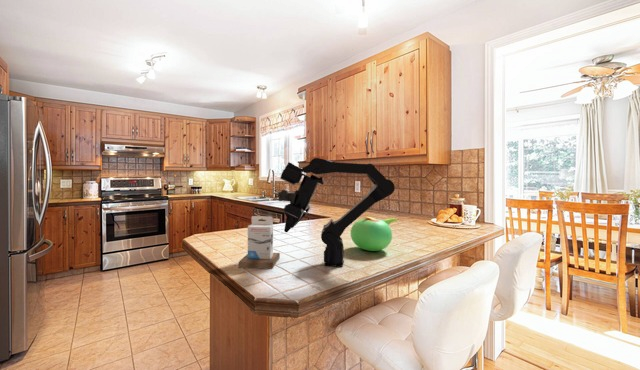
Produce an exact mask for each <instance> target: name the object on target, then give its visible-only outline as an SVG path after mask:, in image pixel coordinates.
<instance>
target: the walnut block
mask: <svg viewBox="0 0 640 370" xmlns="http://www.w3.org/2000/svg"><path fill="white" fill-rule="evenodd" d="M280 255H281V254H280V252H273V256H272V257H271V259H250V258H248V253H247V254H246V255H244V256H243V257H242V258H241V259H240V260H239V261H238V268H240V269H241V268H242V269H274V267H275V265H276V264H277V263H278V262H279V259H280V258H281V257H280Z"/></svg>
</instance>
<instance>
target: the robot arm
mask: <svg viewBox="0 0 640 370" xmlns="http://www.w3.org/2000/svg"><path fill="white" fill-rule="evenodd" d="M308 173H309V174H311V173H312V174H311V175H310V176H309V175H308ZM331 173H332V174H333V173H343V174H356V175H357V174H359V175H366V176H367V178H369V180H370V181H371V182H372V184H373V186H372V187H371V188H370V190H369V192H368V193H367V194H366V195H365V196H364V197H363V198H362V199H360V200H359V201H358V202H357V203H356V204H355V205H354V206H352V208H350V209H349V210H348V211H347V212H346V213H344V214H343V215H342V216H341V217H339V218H337V220H333V219H332V218H331V219H330V220H329V221H328V222H327V223H326V224H324V225H323V228H322V229H321V234H320V238H321V241H322V243H324V245H325V248H324V249H325V250H324V251H323V263H324V264H323V265H324V267H325V266H326V267H339V268H340V267H341V268H342V267H344V264H345V259H344V258H345V257H344V243H343V238H342V237H341V236H342V234H343V233H344V231H346V229H347V228H348V227H350V226H351V225H352V223H353V224H354V223H355V222H356V220H357V219H358V218H359V217H361V216H363V214H364V213H366V211H367V210H369V209H370V208H372V207H373V206H374V205H375V204H376V203H378V202H380V201H382V200H384V199H386V198H389V196H391V195H392V194H393V193H394V192H395V189H396V186H395V184H394V182H393V180H392V179H387V178H386V177H385V175H383V174H382V173H381V172H380V171H379V170H378V169H377V168H376V166H375V165H374V163H373V164H372V163H356V162H355V163H353V162H336V161H332V160H330V159H329V160H328V159H324V158H320V157H315V158H312V159H311V160H310V162H309V164H307V165H306V166H303V167H300V166H297V165H295V164H294V163H291V162H289V161H288V162H287V165H286V166H285V168H284V169H283V170H282V172H281V174H280V180H283V181H285V182H286V183H288V184H290V185H293V186H295V185H296V184H298V185H299V186H298V189H297V190H295V191H294V192H291V191H290V192H289V191H288V190H287V189H286V190H285V189H282V190H281V191H279V192H278V195H277V197H278V202H284V201H285V202H289V203H287V204H285V206H284V208H283V214H284V215H285V217H286V218H285V223H284V230H283V231H284V232H285V233H288V232H289V231H290V230H291V229H293V228H294V227H295V226H296V225H298V223H299V222H300V221H301V220H302V219H303V218H305V216H307V215H308V213H309V212H310V210H311V207H310V205H309V204H310V203H311V201H312V199H313V198H314V194H315V191H316V189H317V187H318V186H319V184H321V185H324V183H325V182H324V180H323V176H320V177H318V176H316V175H323V174H331Z"/></svg>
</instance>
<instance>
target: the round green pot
mask: <svg viewBox="0 0 640 370" xmlns="http://www.w3.org/2000/svg"><path fill="white" fill-rule="evenodd" d="M397 220H398V218H396V217H393V218H387V219H379V218H378V217H377V218H375V217H370V216H364V218H360V219H358V220H357V221H354V222H353V224H352V226H351V229H350V237H351V238H350V239H351V240H352V242H353V243H354V245H356V246H357V247H358V248H360V249H361V250H365V251H369V252H377V251H378V252H379V251H382V250H385V249H386V248H387V247H388V246H389V245H390V244H391V242H392V239H393V232H392V229H391V227H390V224H393V223H394V222H396V221H397Z"/></svg>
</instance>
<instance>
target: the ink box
mask: <svg viewBox="0 0 640 370" xmlns="http://www.w3.org/2000/svg"><path fill="white" fill-rule="evenodd" d="M273 222H274V219H273V216H267V215H266V216H264V215H262V216H261V215H258V216H257V215H256V216H255V215H252V216H251V224H249V225H247V254H248V258H250V259H271V257H272V256H273V253H274V223H273Z"/></svg>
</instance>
